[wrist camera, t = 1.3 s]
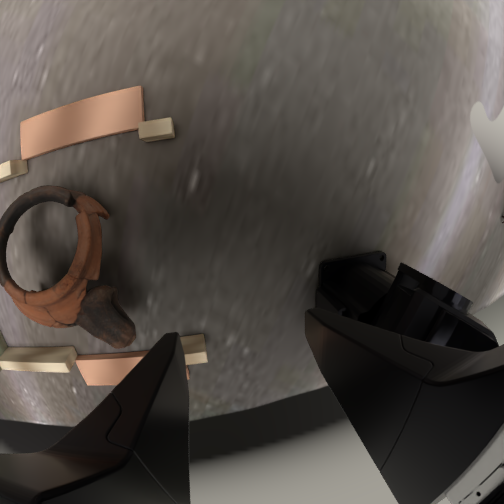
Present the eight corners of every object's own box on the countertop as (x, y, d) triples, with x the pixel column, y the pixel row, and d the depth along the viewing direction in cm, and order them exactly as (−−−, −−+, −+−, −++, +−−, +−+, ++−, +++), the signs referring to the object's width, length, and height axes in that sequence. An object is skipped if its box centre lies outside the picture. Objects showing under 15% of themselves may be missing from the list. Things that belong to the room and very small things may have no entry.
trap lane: (171, 84, 16) (166, 64, 12) (211, 370, 23) (215, 401, 19) (-46, 160, 13) (-72, 163, 9) (17, 377, 20) (3, 400, 16)
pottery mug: (18, 281, 18) (-36, 260, 10) (79, 197, 21) (46, 145, 13) (117, 373, 19) (87, 398, 11) (182, 279, 22) (185, 254, 14)
